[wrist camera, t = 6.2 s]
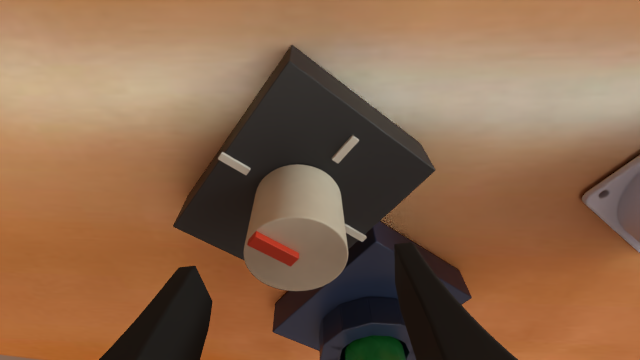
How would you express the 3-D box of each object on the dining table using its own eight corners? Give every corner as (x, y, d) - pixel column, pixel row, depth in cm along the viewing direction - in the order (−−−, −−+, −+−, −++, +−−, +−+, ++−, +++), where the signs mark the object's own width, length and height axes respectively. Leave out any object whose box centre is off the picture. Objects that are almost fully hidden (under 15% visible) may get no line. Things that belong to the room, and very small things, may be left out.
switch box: (370, 214, 20) (381, 267, 17) (462, 271, 23) (487, 326, 20) (274, 303, 24) (269, 359, 21) (362, 342, 27) (370, 396, 24)
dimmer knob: (358, 193, 16) (371, 254, 13) (307, 243, 18) (307, 310, 15) (287, 147, 15) (281, 204, 11) (239, 207, 16) (222, 271, 13)
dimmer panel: (289, 43, 15) (286, 59, 13) (422, 145, 18) (438, 173, 16) (185, 195, 19) (169, 228, 17) (306, 257, 22) (305, 292, 20)
